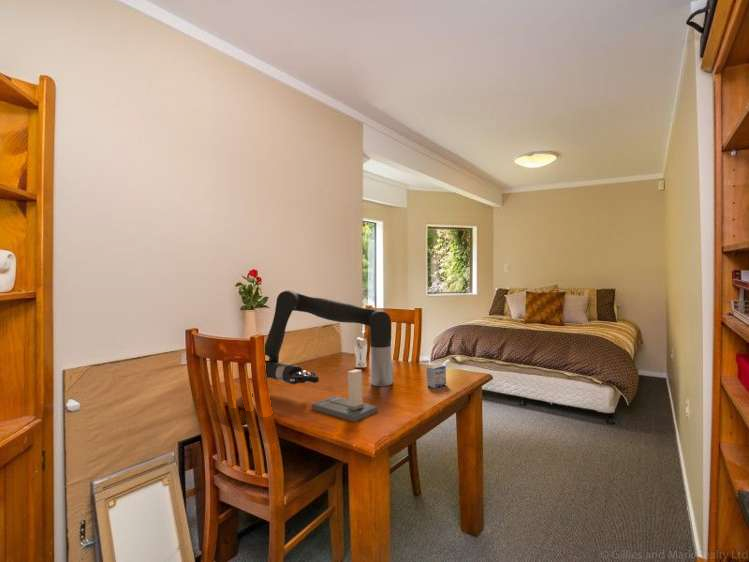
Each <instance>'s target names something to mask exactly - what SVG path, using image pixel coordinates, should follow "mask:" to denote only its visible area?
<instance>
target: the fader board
mask: <svg viewBox="0 0 749 562" xmlns="http://www.w3.org/2000/svg"><path fill="white" fill-rule="evenodd" d="M363 403H364V404H365V406H364V407H362V408H359V409H357V410H352V409H349V408H347V405H349V398H345V397H341V396H338V395H332V396H329V397H327V398H324V399H321V400H318V401H315V402H313V403H311V404H310V407H311V408H310V410H312V409H314V411H316V410H317V411H316V412H319V411H320V413H324V414H327V415H329V414H330V416H333V417H336V416H337V418H339V417H340V418H339V419H343V420H347V421H349V420H350V422H353V423H357V422H359V421H361V420H363V419H365V418H367V417H370V416H372V415H374V414H376V413H378V406H377V405H373V404H369V403H366V402H363ZM371 414H372V415H371ZM362 418H363V419H362ZM360 419H361V420H360ZM358 420H359V421H358Z"/></svg>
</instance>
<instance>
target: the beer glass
mask: <svg viewBox="0 0 749 562" xmlns="http://www.w3.org/2000/svg"><path fill="white" fill-rule="evenodd" d="M353 340H354V342H353V343H354V344H353V345H354V346H353V348H354V349H353V350H354V354H355V355H354V356H355V368H357V369H358V368H359V369H363V368H367V366H368V365H367V364H368V363H367V354H368V353H367V352H368V340H367V337H356V338H354V339H353Z"/></svg>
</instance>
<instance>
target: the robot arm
mask: <svg viewBox="0 0 749 562" xmlns="http://www.w3.org/2000/svg"><path fill="white" fill-rule="evenodd" d="M275 303H276V304H275V309H274V314H273V320H272V323H271V327H270V329H269V331H268V332H269V333H268V335H267V338H266V341H265V344H264V346H265V354H264V355H265V356H267V357H268V359H267V360H265V359H264V360H265V363H266V374H267V377H266V378H270V379H273V380H277V381H280V382H282V383H287V384H291V385H297V384H305V383H313V384H317V383H319V381H320V378H319V376H318V375H316V371H315V370H314V369H313V370H311V371H310V372H309V371H307V370H303V368H302V367H301V366H299V365H296V364H291V363H290V364H289V363H281V362H279V359H280V351H281V349H282V345H283V343H284V338H285V334H286V329H287V325H288V322H289V318H290V317H291V315H292V313H293V311H294V312H295V311H296V312H301V313H302V312H303V313H308V314H310V315H314V316H316V317H318V318H321V319H325V320H329V321H332V322H337V323H348V324H350V323H351V324H352V323H353V324H354V323H355V324H360V325H364V326H368V327H369V328H370V329H369V333H370V335H369V336H370V342H369V343H370V345H369V346H370V371H371V372H370V373H371V374H370V375H371V377H370V378H371V380H370V381H371V385H372V386H374V387H387V386H390V385H392V384H393V383H394V375H393V374H394V372H393V371H394V369H393V368H394V367H393V366H394V365H393V363H394V362H393V361H392V322H391V321H392V319H391V317H390V315H389V314H388V312H387V311H386V310H383V309H376V308H375V309H374V308H365V307H360V306H356V305H354V304H351V303H348V302H344V301H339V300H336V299H331V298H330V299H329V298H322V297H313V296H309V295H306V294H302V293H299V292H296V291H294V290H284V291H281V292H280V293H279V294H278V295H277V298H276V302H275Z"/></svg>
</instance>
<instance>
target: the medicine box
mask: <svg viewBox="0 0 749 562" xmlns="http://www.w3.org/2000/svg"><path fill="white" fill-rule="evenodd" d="M445 384H446V385H447V367H446V365H444V364H435V365H432V366H431V365H430V366H427V367H426V387H427V386H430V387H433V388H432V389H434V388H435V389H437V388H436V387H438V388H440V387H439V386H441V387H443V386H442V385H445ZM446 385H445V386H446ZM430 387H429V388H430Z"/></svg>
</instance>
